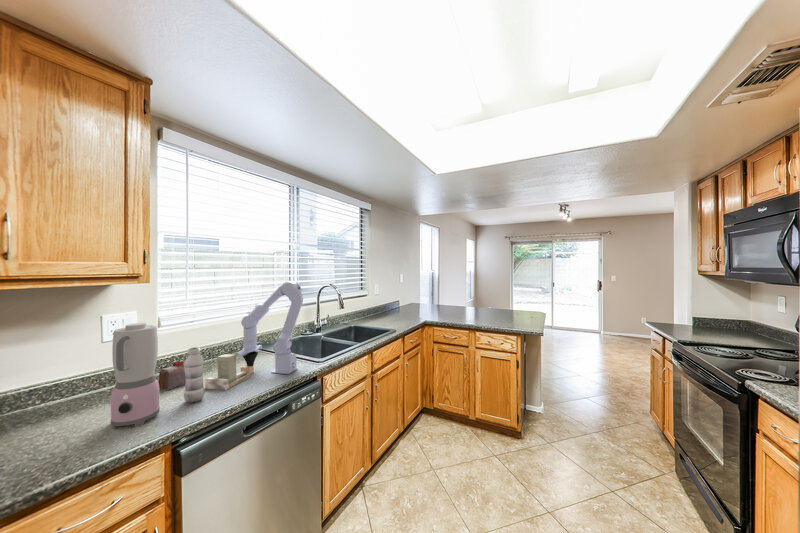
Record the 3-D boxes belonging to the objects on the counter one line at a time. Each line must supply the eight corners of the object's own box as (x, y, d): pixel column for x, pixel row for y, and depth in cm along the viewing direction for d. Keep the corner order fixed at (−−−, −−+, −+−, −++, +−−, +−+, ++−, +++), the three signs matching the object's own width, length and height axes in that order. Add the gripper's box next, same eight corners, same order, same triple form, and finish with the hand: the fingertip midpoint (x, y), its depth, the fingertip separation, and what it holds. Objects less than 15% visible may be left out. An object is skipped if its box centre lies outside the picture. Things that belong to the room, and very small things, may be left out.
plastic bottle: (194, 405, 109) (194, 351, 109) (179, 403, 110) (178, 350, 110) (208, 397, 115) (208, 346, 115) (194, 396, 116) (194, 345, 116)
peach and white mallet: (253, 372, 142) (253, 364, 142) (236, 381, 131) (235, 372, 131) (244, 371, 143) (244, 363, 143) (226, 380, 132) (226, 371, 132)
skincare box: (237, 381, 131) (236, 354, 131) (229, 385, 127) (229, 357, 127) (224, 380, 132) (224, 353, 133) (216, 384, 128) (216, 356, 128)
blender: (125, 413, 103) (125, 322, 103) (166, 408, 106) (166, 320, 106) (92, 438, 88) (92, 331, 88) (142, 432, 91) (142, 328, 91)
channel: (251, 376, 137) (251, 368, 137) (225, 390, 122) (225, 380, 122) (232, 375, 139) (232, 366, 139) (205, 388, 124) (205, 378, 124)
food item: (187, 377, 137) (187, 356, 137) (200, 379, 135) (200, 357, 135) (156, 389, 124) (156, 365, 124) (170, 391, 122) (170, 367, 122)
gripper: (253, 336, 152) (253, 362, 152) (231, 343, 138) (231, 372, 137) (265, 336, 150) (265, 363, 150) (244, 343, 136) (245, 373, 136)
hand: (250, 367), depth 144 cm, fingers closed
